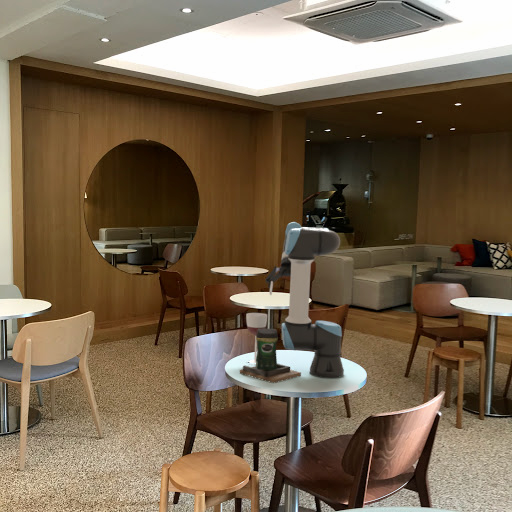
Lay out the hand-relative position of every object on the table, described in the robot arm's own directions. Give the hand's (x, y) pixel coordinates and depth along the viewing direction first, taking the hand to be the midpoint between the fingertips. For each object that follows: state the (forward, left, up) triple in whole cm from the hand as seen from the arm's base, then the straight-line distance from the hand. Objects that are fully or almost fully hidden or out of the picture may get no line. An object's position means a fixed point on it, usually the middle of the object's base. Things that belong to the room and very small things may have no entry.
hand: (284, 294), depth 273 cm
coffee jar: (-12, +24, -31) cm, 41 cm away
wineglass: (+6, +12, -33) cm, 36 cm away
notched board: (-14, +23, -33) cm, 42 cm away
